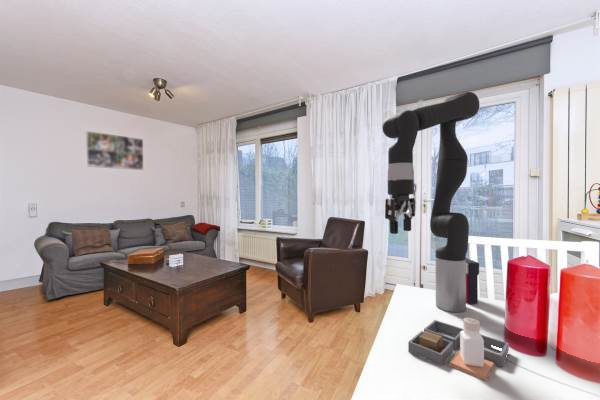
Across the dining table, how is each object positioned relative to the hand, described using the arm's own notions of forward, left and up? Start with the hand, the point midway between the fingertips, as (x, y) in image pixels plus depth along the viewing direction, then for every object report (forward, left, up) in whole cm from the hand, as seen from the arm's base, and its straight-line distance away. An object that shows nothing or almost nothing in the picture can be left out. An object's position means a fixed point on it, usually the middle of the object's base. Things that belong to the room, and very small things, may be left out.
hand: (400, 232), depth 81 cm
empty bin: (0, +12, -28) cm, 31 cm away
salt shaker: (+8, +21, -28) cm, 35 cm away
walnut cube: (+9, +12, -28) cm, 32 cm away
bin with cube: (+9, +12, -28) cm, 32 cm away
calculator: (-36, +7, -28) cm, 46 cm away
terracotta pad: (+8, +21, -28) cm, 36 cm away
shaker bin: (0, +22, -28) cm, 35 cm away
